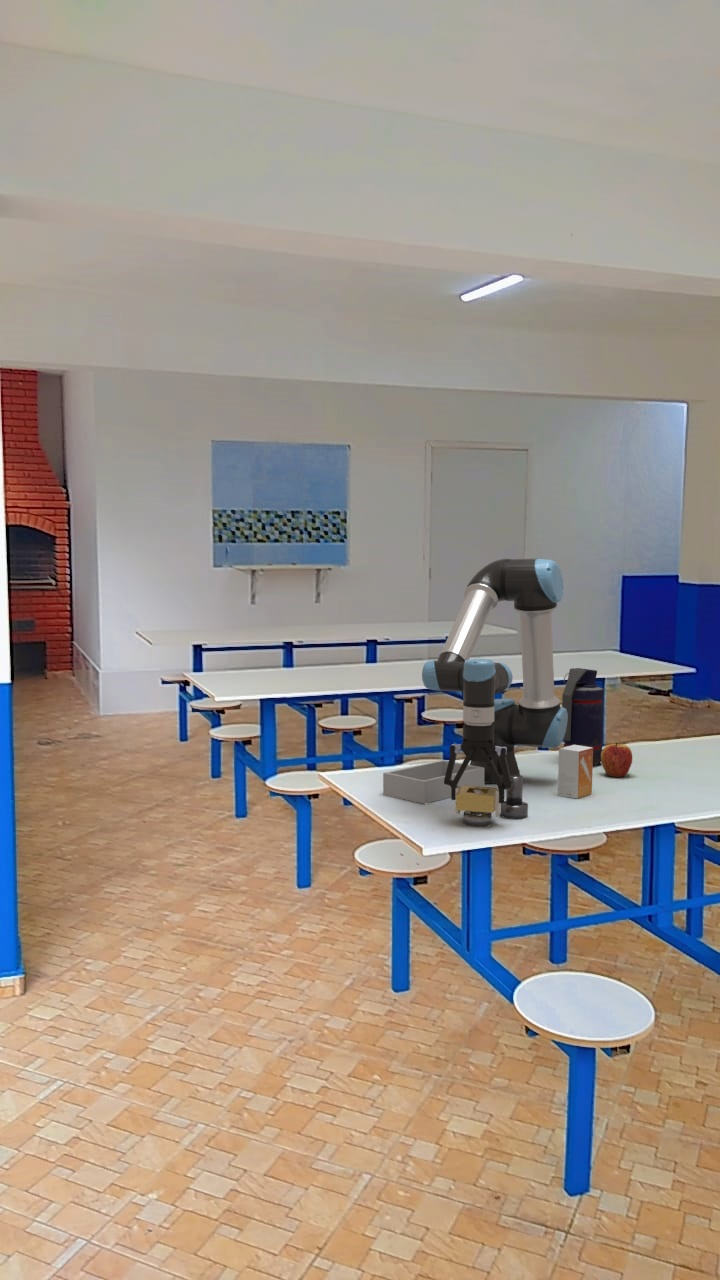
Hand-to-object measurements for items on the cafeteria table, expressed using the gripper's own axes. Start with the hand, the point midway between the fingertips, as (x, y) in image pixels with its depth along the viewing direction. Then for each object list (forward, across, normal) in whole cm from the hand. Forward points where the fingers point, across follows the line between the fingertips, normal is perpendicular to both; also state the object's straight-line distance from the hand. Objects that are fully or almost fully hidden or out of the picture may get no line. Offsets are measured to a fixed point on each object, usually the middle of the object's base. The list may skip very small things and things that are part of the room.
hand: (477, 814), depth 245 cm
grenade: (+2, +20, +78) cm, 81 cm away
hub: (+2, 0, 0) cm, 2 cm away
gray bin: (+2, -17, +29) cm, 34 cm away
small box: (+2, +21, +36) cm, 42 cm away
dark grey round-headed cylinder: (+2, +8, +9) cm, 12 cm away
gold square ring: (-2, 0, 0) cm, 2 cm away
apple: (+2, +31, +64) cm, 71 cm away
